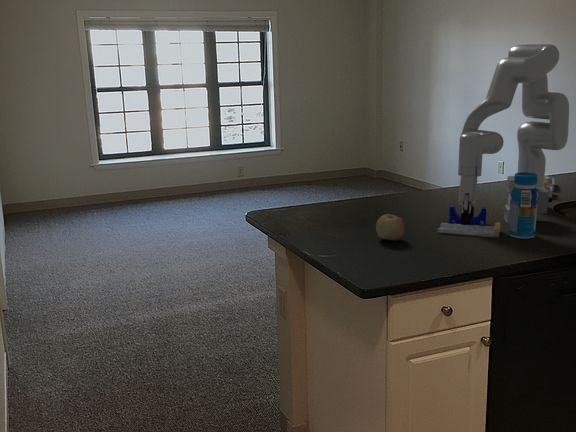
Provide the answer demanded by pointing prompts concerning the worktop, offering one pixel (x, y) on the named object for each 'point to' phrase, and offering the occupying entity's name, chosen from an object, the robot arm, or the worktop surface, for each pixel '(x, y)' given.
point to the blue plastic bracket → (474, 221)
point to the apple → (390, 227)
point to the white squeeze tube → (470, 230)
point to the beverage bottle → (523, 206)
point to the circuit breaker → (541, 199)
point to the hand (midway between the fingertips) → (467, 220)
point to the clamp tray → (548, 188)
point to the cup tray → (551, 183)
